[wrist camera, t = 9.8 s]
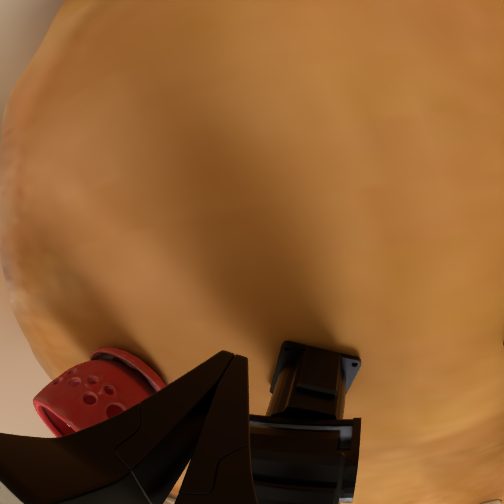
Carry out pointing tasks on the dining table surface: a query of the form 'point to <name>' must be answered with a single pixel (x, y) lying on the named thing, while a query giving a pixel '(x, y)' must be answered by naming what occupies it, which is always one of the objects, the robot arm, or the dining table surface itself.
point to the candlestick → (493, 502)
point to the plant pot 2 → (95, 391)
